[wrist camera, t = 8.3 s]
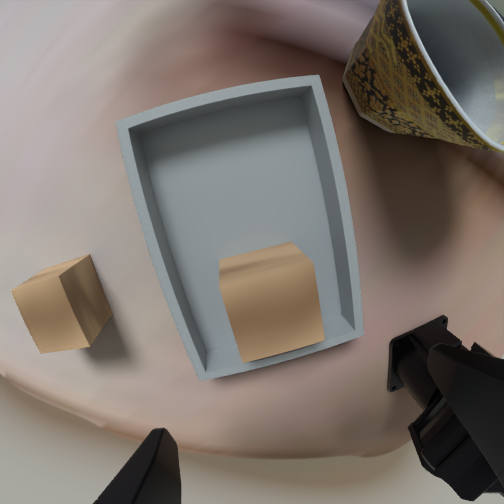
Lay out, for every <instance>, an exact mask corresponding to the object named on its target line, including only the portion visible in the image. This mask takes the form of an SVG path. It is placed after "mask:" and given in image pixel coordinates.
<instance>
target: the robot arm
mask: <svg viewBox="0 0 504 504" xmlns="http://www.w3.org/2000/svg"><path fill="white" fill-rule="evenodd" d="M447 323H448V318H447V317H446V316H445V315H442V316H440V317H438V318H436V319H434V320H432V321H430V322H428V323H426V324H424V325H422V326H420V327H417V328H415V329H413V330H411V331H409V332H407V333H404V334H402V335H400V336H397V337H395V338H393V339H392V341H391V343H390V362H389V379H388V389H389V391H390V392H394V391H396V390H398V389H400V388H402V387H405V388H406V389H407V390H408V392H409V393H410V394H411V395H412V397H413V398H414V399H415V400H416V402H417V403H418V404H419V405H420V407H421V408H422V409H423V410H424V412H423V413H422V414H421V415H420V416H419V417H418V418H417V419H416V420H415V421H414V422H412V423H411V424H410V425H409V426H408V429H409V432H410V434H411V438H412V440H413V443H414V446H415V448H416V451H417V454H418V456H419V459H420V462H421V465H422V466H423V467H424V468H425V469H426V470H427V471H429V472H430V473H431V474H433V475H434V476H436V477H439V478H441V479H443V480H444V481H445V482H446V483H447V484H449V485H450V486H451V487H452V488H453V490H454V491H455V492H456V493H457V494H458V496H460V498H461V499H464V500H469V501H474V500H475V499H477V498H478V497H479V496H480V495H481V494H482V493H499V494H501V495H502V496H503V497H504V359H501V358H497V357H495V356H494V355H493V354H491V353H490V352H488V351H487V350H486V349H484V348H483V347H481V346H480V345H478V344H477V343H476V342H474V344H473V345H472V347H471V348H472V349H471V350H470V351H469V350H468V349H467V348H466V347H464V346H463V345H462V341H461V340H460V339H458V338H457V337H456V336H454V335H453V334H452V333H451V332H449V331H448V330H447ZM93 504H181V478H180V468H179V458H178V447H177V444H176V442H175V440H174V439H173V437H172V436H171V435H170V433H169V432H168V430H167V429H165V428H156V429H153V430H152V431H151V432H150V433H149V435H148V436H147V437H146V439H145V440H144V441H143V442H142V444H141V445H140V446H139V448H138V449H137V450H136V451H135V453H134V454H133V455H132V457H131V458H130V459H129V460H128V461H127V463H126V464H125V465H124V466H123V468H122V469H121V470H120V471H119V473H118V474H117V475H116V476H115V477H114V479H113V480H112V481H111V483H110V484H109V485H108V486H107V487H106V489H105V490H104V491H103V492H102V493H101V495H100V496H99V497H98V500H96V501H95V502H94V503H93Z"/></svg>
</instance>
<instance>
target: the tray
mask: <svg viewBox="0 0 504 504" xmlns="http://www.w3.org/2000/svg"><path fill="white" fill-rule="evenodd" d="M116 127H117V132H118V137H119V141H120V146H121V151H122V155H123V159H124V164H125V168H126V172H127V176H128V180H129V184H130V188H131V192H132V195H133V199H134V203H135V206H136V210H137V213H138V217H139V220H140V224H141V227H142V230H143V234H144V237H145V240H146V243H147V247H148V250H149V253H150V256H151V259H152V262H153V265H154V268H155V271H156V274H157V276H158V279H159V282H160V285H161V288H162V290H163V293H164V296H165V299H166V301H167V304H168V307H169V309H170V312H171V314H172V317H173V320H174V322H175V325H176V327H177V330H178V332H179V334H180V337H181V339H182V342H183V344H184V346H185V349H186V351H187V353H188V356H189V358H190V360H191V363H192V365H193V367H194V369H195V372H196V374H197V376H198V378H199V380H200V381H203V380H208V379H213V378H218V377H222V376H227V375H232V374H236V373H240V372H245V371H249V370H253V369H257V368H261V367H265V366H269V365H272V364H276V363H280V362H283V361H287V360H290V359H294V358H297V357H301V356H304V355H307V354H310V353H314V352H317V351H320V350H323V349H326V348H329V347H332V346H335V345H338V344H341V343H344V342H347V341H349V340H352V339H355V338H358V337H360V336H363V335H364V330H363V313H362V300H361V288H360V278H359V268H358V259H357V251H356V244H355V236H354V229H353V223H352V216H351V210H350V204H349V198H348V193H347V187H346V182H345V177H344V172H343V167H342V162H341V157H340V153H339V148H338V144H337V140H336V136H335V131H334V127H333V123H332V119H331V116H330V112H329V108H328V104H327V101H326V97H325V94H324V90H323V87H322V83H321V80H320V77H319V75H311V76H301V77H292V78H284V79H276V80H270V81H263V82H257V83H251V84H246V85H241V86H236V87H231V88H226V89H221V90H217V91H213V92H209V93H205V94H201V95H197V96H193V97H189V98H186V99H182V100H179V101H175V102H172V103H168V104H165V105H162V106H159V107H156V108H153V109H150V110H147V111H144V112H141V113H138V114H135V115H133V116H130V117H127V118H125V119H122V120H119V121H117V122H116ZM287 242H292V243H293V244H294V245H295V246H296V247H297V248H298V249H300V250H301V251H302V252H303V253H304V254H305V255H306V256H307V257H308V258H309V259H310V260H311V261H312V262H313V264H314V270H315V276H316V282H317V288H318V295H319V301H320V308H321V315H322V322H323V330H324V337H325V340H324V341H321V342H318V343H315V344H312V345H308V346H305V347H302V348H298V349H295V350H291V351H288V352H284V353H280V354H277V355H273V356H269V357H265V358H261V359H257V360H253V361H249V362H245V363H243V362H242V359H241V356H240V353H239V350H238V347H237V343H236V340H235V337H234V334H233V331H232V328H231V325H230V321H229V318H228V315H227V312H226V308H225V305H224V302H223V298H222V295H221V292H220V288H219V260H220V259H224V258H228V257H232V256H236V255H240V254H243V253H247V252H251V251H255V250H259V249H263V248H267V247H271V246H275V245H279V244H283V243H287Z"/></svg>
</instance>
